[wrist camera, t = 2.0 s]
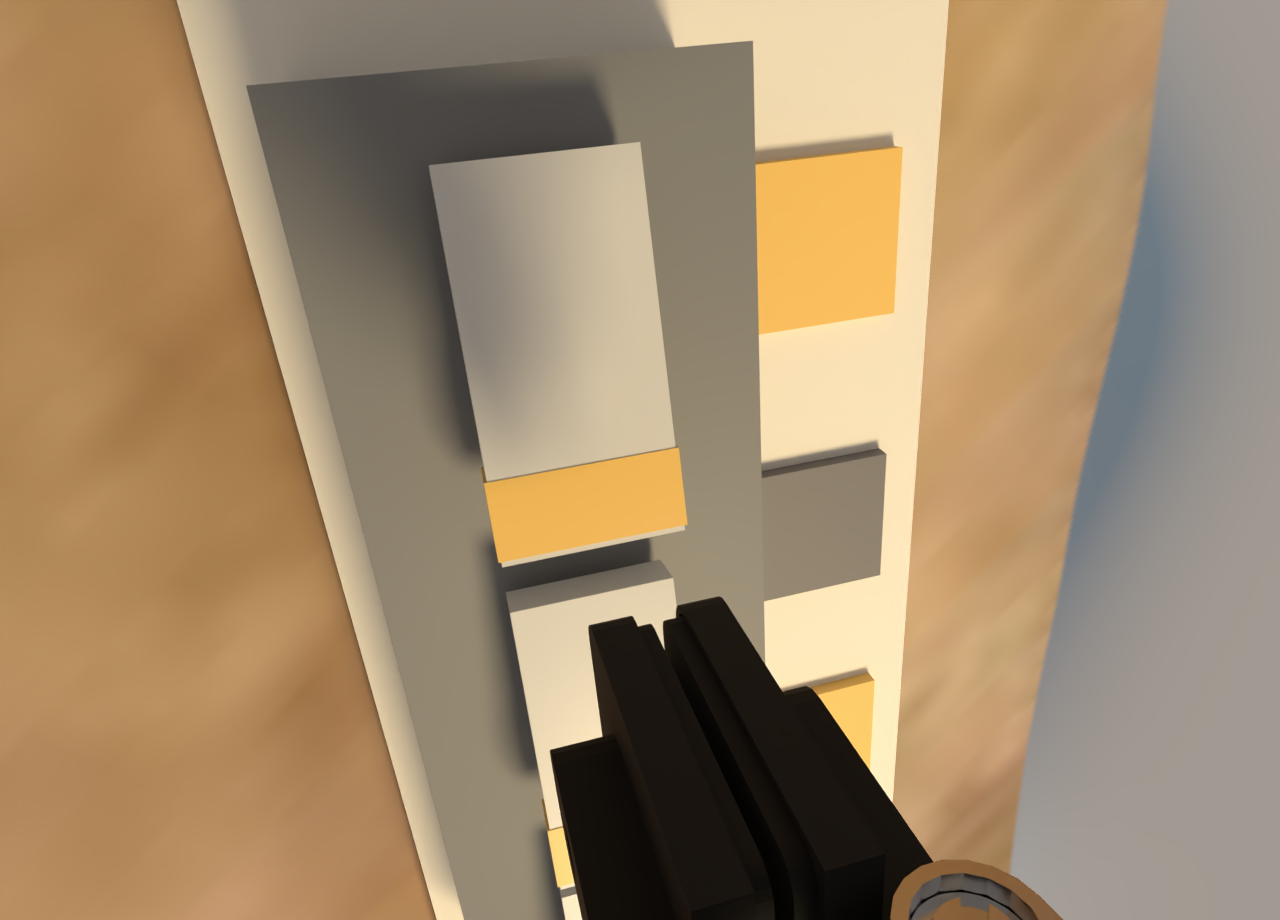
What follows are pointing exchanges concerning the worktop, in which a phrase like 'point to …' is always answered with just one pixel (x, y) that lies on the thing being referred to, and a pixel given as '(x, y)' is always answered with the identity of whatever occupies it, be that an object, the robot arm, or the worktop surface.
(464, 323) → the plate
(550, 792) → the block
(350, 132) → the switch unit
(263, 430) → the worktop surface
